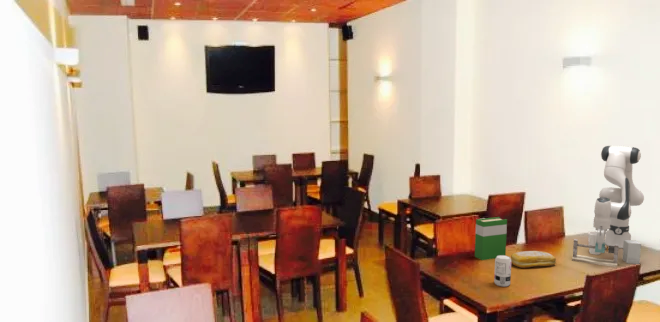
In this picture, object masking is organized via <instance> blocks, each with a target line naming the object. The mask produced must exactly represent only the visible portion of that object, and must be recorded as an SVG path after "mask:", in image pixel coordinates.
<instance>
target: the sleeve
mask: <svg viewBox="0 0 660 322" xmlns="http://www.w3.org/2000/svg"><path fill="white" fill-rule="evenodd" d="M605 247H606V244H605V242H603V244H602V249H601V250H600V249H598V243H597V242H596V244H595V252H600V254H605V252H606V250H605Z"/></svg>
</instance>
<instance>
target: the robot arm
mask: <svg viewBox="0 0 660 322" xmlns="http://www.w3.org/2000/svg"><path fill="white" fill-rule="evenodd" d="M641 154H642V153H641V151H640V149H639V148H637V147H633V146H632V147H631V146H625V145H621V146H620V145H605V146H604V147H603V148H602V150H601V152H600V157H601V159H602V160H603V162H605V165H604V169H603V170H604V171H603V175H604V178H605V180H606V181H608V182H609V183H611V184H612V185H615V186H617V187H603V188H601V189H600V191H599V195H598V196H599V197H598V198H596V200H595V204H594V211H593V212H594V217H593V228H595V231H596V232H597V240H596V242H597V243H598V249H600V250H601V249H602V244H603V242H605V246H608V247H609V246H615V245H619V247H618V249H623V244H624V240H632V234H631V233H630V225H629V224H630V223H629V222H630V218H631V216H632V208H631V207H634V206H641V205H642V204H643V202H644V200H645V196H644V194H643V192H642V191H641V190H639V189H638V187H636V185H635V184H634V182H633V181H634V180H633V165H635V164H637V163H638V162H639V161H640V159H641V158H642V155H641Z"/></svg>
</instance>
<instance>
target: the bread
mask: <svg viewBox="0 0 660 322" xmlns="http://www.w3.org/2000/svg"><path fill="white" fill-rule="evenodd" d="M510 259H511V265H512V266H515V267H517V268H519V269H529V268H533V267H534V268H535V267H551V266H555V265H556V262H557V261H556V260H557V259H556V257H555V256H554V255H553V254H551V253H549V252H547V251H541V250H539V251H538V250H525V251H523V250H522V251H519V252H514V253H512V254H511V256H510Z"/></svg>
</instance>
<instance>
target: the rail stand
mask: <svg viewBox="0 0 660 322" xmlns="http://www.w3.org/2000/svg"><path fill="white" fill-rule="evenodd" d="M578 241H579V239H576V238H574V239H573V244H572V245H573V248H572V258H571V261H573V262H579V263H583V264H584V263H585V264H592V265H599V266H605V267H611V268H618V258H619V248H618V247H619V245H615V246H608V245H606V246H605V252H608V254H613V259H607V258H600V257H594V256H588V255H580V254H578V247H583V248H587V249H589V248H594V249H595V246H592V245H589V244H583V243H578Z"/></svg>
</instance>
